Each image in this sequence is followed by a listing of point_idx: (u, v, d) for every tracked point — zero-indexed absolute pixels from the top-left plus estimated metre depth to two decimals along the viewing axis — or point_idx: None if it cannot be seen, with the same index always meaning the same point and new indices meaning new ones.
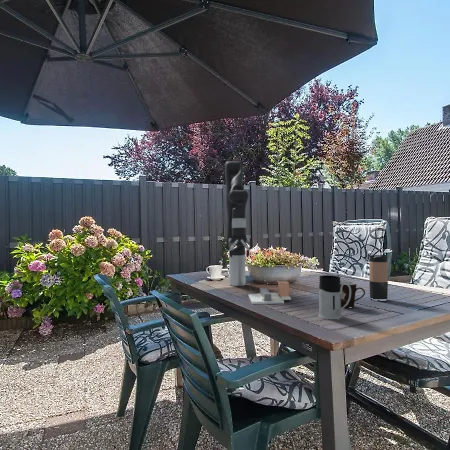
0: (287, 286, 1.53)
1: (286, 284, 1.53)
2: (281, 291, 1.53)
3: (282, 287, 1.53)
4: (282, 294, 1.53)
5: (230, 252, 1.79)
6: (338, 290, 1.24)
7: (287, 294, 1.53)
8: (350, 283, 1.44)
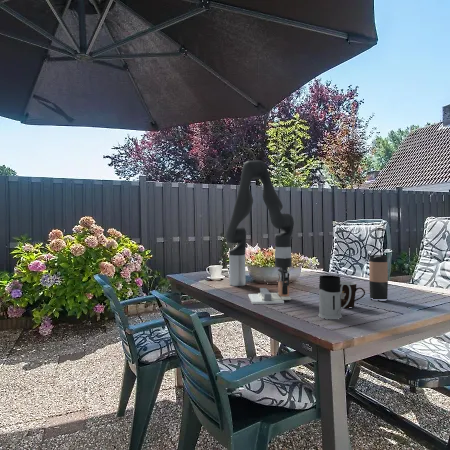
0: (287, 286, 1.53)
1: None
2: (281, 291, 1.53)
3: None
4: (282, 294, 1.53)
5: (286, 288, 1.52)
6: (338, 290, 1.24)
7: (287, 294, 1.53)
8: (350, 283, 1.44)
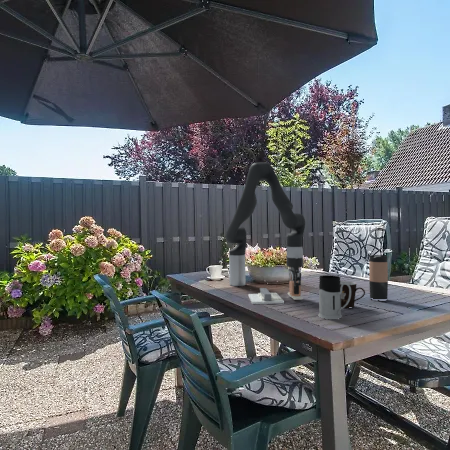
0: (299, 286, 1.53)
1: None
2: (293, 291, 1.53)
3: None
4: (294, 294, 1.53)
5: None
6: (338, 290, 1.24)
7: (299, 294, 1.53)
8: (350, 283, 1.44)
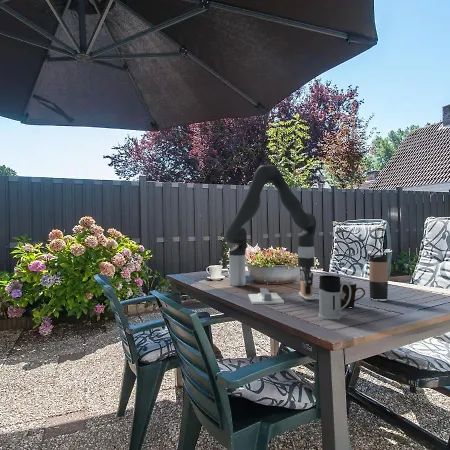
0: None
1: None
2: (304, 291, 1.54)
3: None
4: (305, 294, 1.54)
5: (309, 288, 1.53)
6: (338, 290, 1.24)
7: (310, 294, 1.54)
8: (350, 283, 1.44)
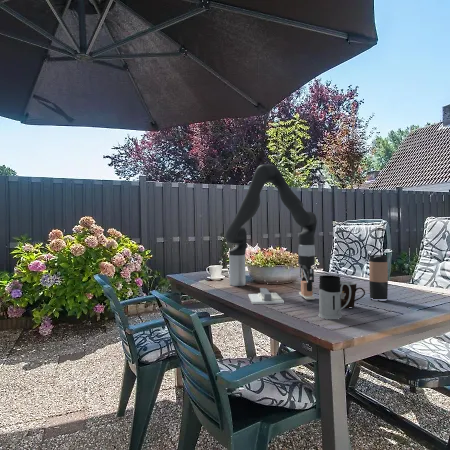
0: None
1: None
2: (304, 291, 1.54)
3: (306, 286, 1.54)
4: (305, 294, 1.54)
5: None
6: (338, 290, 1.24)
7: (310, 294, 1.54)
8: (350, 283, 1.44)
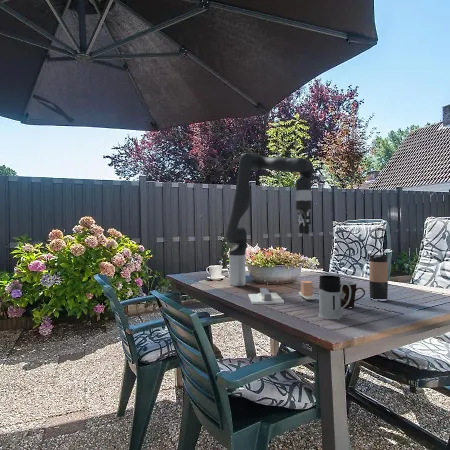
0: (310, 286, 1.54)
1: (310, 283, 1.54)
2: (304, 291, 1.54)
3: (306, 286, 1.54)
4: (305, 294, 1.54)
5: None
6: (338, 290, 1.24)
7: (310, 294, 1.54)
8: (350, 283, 1.44)
